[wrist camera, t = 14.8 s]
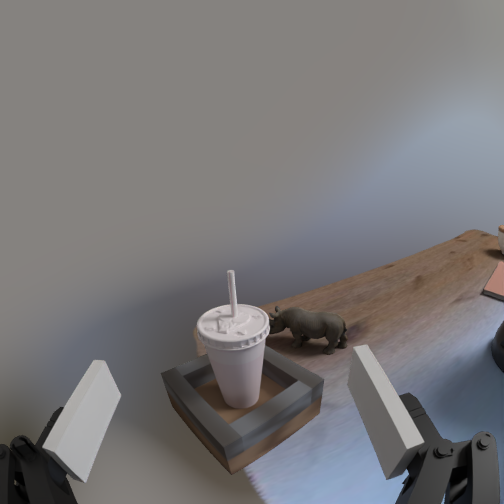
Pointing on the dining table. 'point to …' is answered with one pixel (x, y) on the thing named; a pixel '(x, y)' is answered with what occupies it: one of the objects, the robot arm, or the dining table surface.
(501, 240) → the lidded bowl
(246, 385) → the smoothie
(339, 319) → the rhino figurine
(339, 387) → the dining table surface
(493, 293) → the notebook
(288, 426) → the grey boxy open piece
